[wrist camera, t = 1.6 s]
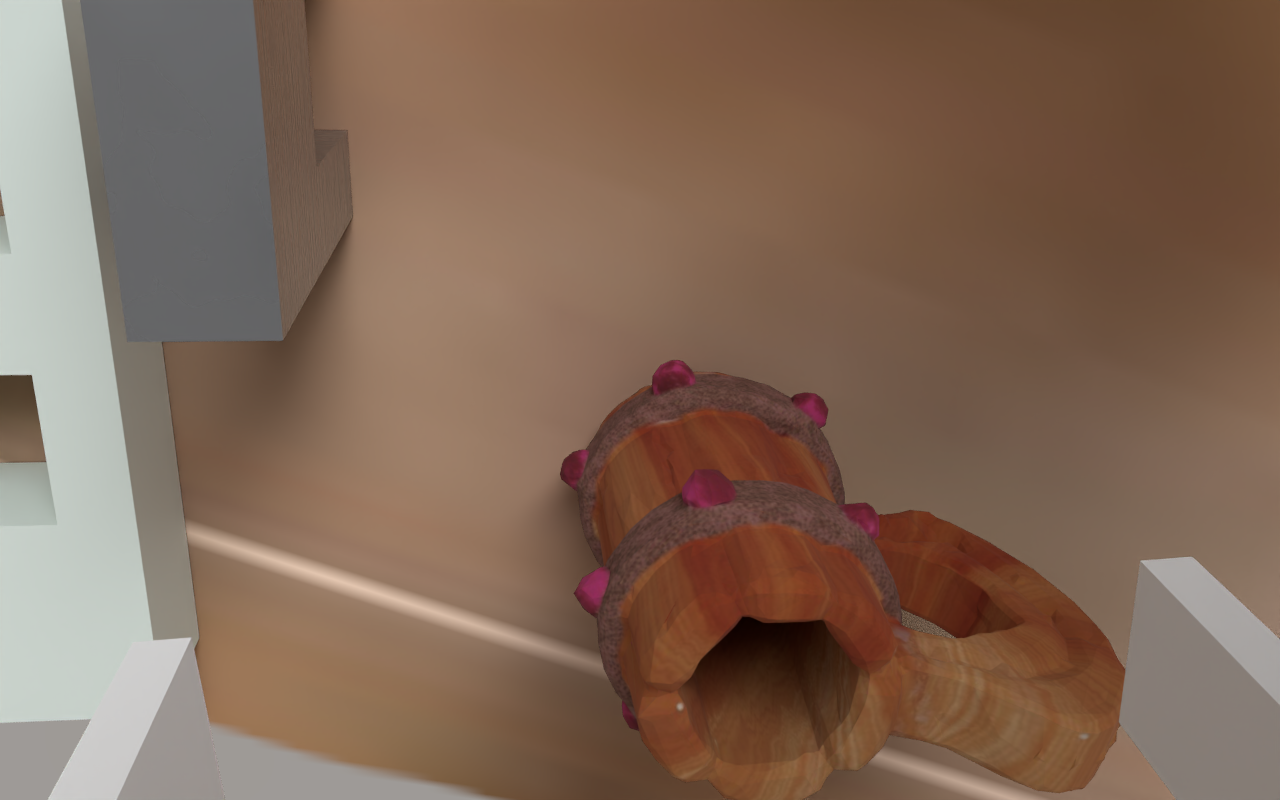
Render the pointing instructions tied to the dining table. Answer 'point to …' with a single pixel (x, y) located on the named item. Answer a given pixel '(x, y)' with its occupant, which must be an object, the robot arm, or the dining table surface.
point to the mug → (814, 607)
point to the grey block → (213, 165)
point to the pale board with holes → (75, 400)
